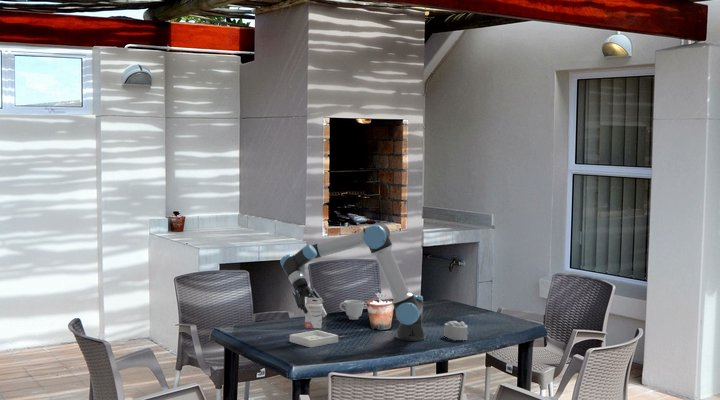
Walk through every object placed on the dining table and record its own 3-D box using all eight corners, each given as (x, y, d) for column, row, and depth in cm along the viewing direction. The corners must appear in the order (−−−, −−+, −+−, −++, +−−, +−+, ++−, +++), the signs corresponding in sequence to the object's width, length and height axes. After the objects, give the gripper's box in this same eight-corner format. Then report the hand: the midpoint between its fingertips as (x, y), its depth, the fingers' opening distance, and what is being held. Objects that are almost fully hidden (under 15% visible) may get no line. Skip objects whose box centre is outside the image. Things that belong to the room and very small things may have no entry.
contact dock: (338, 342, 458) (338, 335, 458) (310, 347, 445) (310, 340, 445) (317, 336, 470) (317, 330, 469) (289, 341, 456) (289, 334, 456)
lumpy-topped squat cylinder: (456, 334, 485) (457, 319, 485) (471, 339, 474) (472, 323, 474) (441, 336, 480) (441, 320, 479) (456, 341, 469) (457, 325, 468)
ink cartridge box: (304, 327, 454) (305, 299, 453) (305, 325, 459) (305, 297, 458) (321, 328, 454) (322, 299, 454) (321, 326, 459) (322, 297, 458)
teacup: (335, 317, 522) (336, 300, 522) (359, 316, 528) (360, 299, 527) (342, 321, 511) (343, 304, 510) (367, 320, 516) (367, 303, 516)
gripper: (310, 283, 474) (330, 318, 464) (278, 287, 459) (298, 323, 449) (317, 275, 470) (337, 310, 460) (285, 278, 455) (305, 314, 444)
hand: (318, 316), depth 454 cm, fingers closed on ink cartridge box, 9 cm apart
